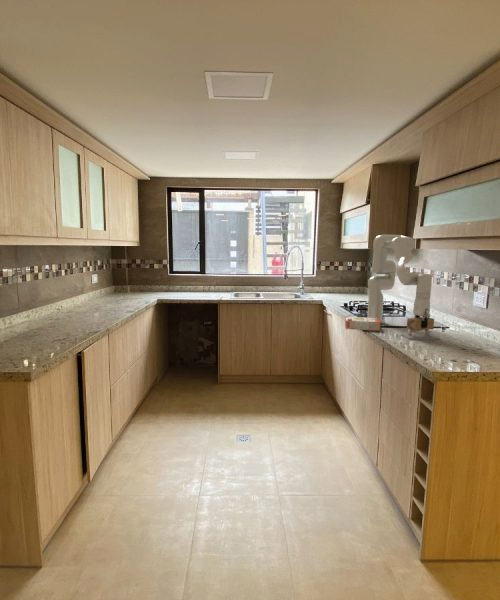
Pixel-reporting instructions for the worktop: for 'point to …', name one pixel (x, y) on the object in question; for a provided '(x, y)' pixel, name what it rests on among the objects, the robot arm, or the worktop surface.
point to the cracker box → (362, 323)
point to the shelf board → (419, 324)
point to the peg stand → (420, 335)
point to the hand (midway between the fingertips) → (420, 326)
